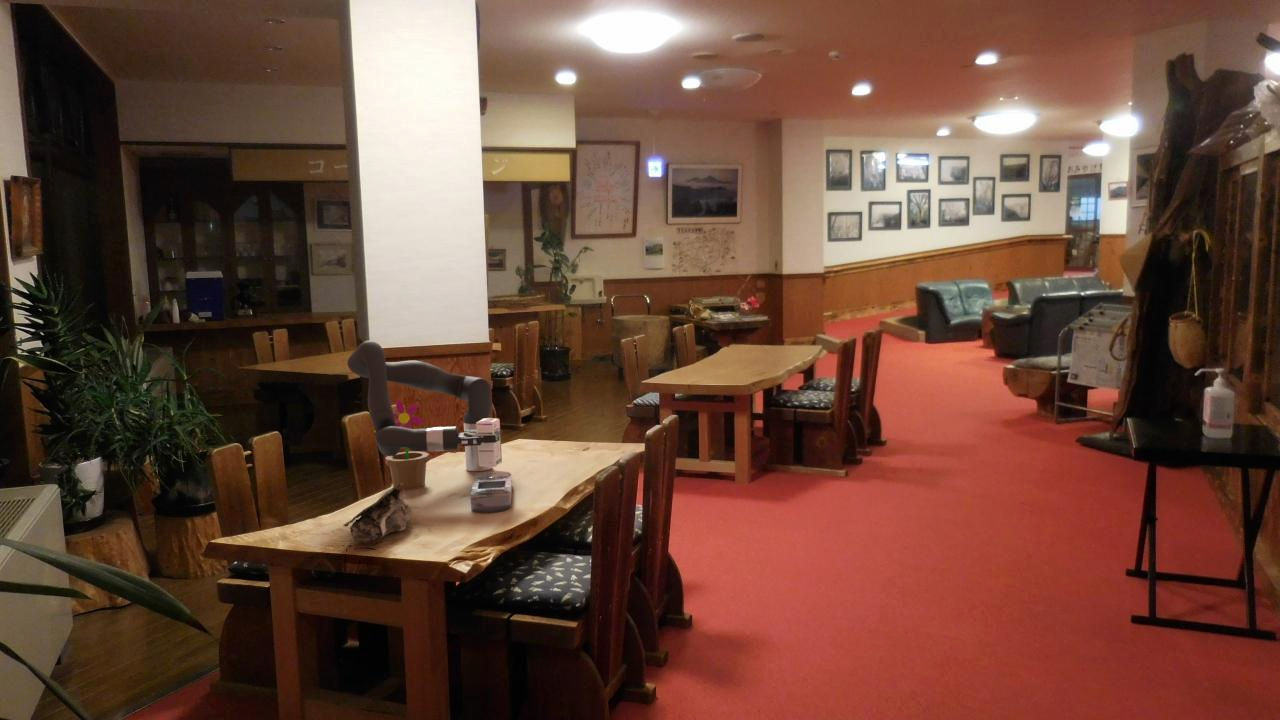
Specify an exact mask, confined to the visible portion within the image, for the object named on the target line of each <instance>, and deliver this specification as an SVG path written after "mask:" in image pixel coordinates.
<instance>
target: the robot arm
mask: <svg viewBox="0 0 1280 720" xmlns="http://www.w3.org/2000/svg"><path fill="white" fill-rule="evenodd" d="M347 367H348V368H349V370H350V371H351V372H352V373H353V374H355V375H357V376H359V377H362V378H366V379H368V392H367V408H368V412H369V416H370V419H371V423H372V426H373V428H374V430H375V442H376V444H377V447H378V450H379V451H380V453H381V454H382V455H384V456H386V457H387V456H394V455H396V454H397V453H400V451H401V450H402V449H401V447H406V448H408V450H410V452H412V451H420V452H446V451H447V452H448V451H458V450H459V448H460V446H461V447H464V450H465V451H464V452H465V455H464V456H465V469H466V471H468V472H485V471H488V470H492V469H493V467H481V466H479V458H478V445H481V444H483V442H484V443H495V442H496V436H495V435H487V436H484V437H483V436H482V435H477V425H476V422H478V421H480V420H482V419H483V418H484V419H485V418H491V417H490V416H491V414H492V388H491V385H490V382H489V381H488V380H487V379H485V378H483V377H477V376H470V375H461V374H455V373H451V372H448V371H446V370H444V369H443V368H441V367H439V366H437V365H433V364H431V363H428V362H426V361H425V362H424V361H420V360H415V359H413V360H402V361H396V362H395V361H393V362H392V361H391V362H387V361H386V354H385V351H384V348H383V347H382V346H381V345H380V343H377V341H374V340H365V341H363V342H362V343H360V344H359V345H358V346H357V348H356V349H354V351H353V352H352V353H351V354H350V355H349V357H348V359H347ZM388 382H391V383H395V384H400V385H403V386H408V387H410V388H414V389H419V390H423V391H427V392H433V393H443V394H447V395H449V396H453V397H456V398H458V399H459V400H463V401H464V402H467V403H468V406H467V407H468V409H467V411H466V413H464V414H463V417H462V418H463V419H462V420H463V431H462V432H459V427H458V426H436V427H435V426H434V427H427V428H412V429H409V428H404V426H401V427H396V424H395V422H396V420H395V419H394V413H395V412H394V410H393V406H392V403H391V399H390V394H389V393H390V392H389V388H388V387H389V385H388Z"/></svg>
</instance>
